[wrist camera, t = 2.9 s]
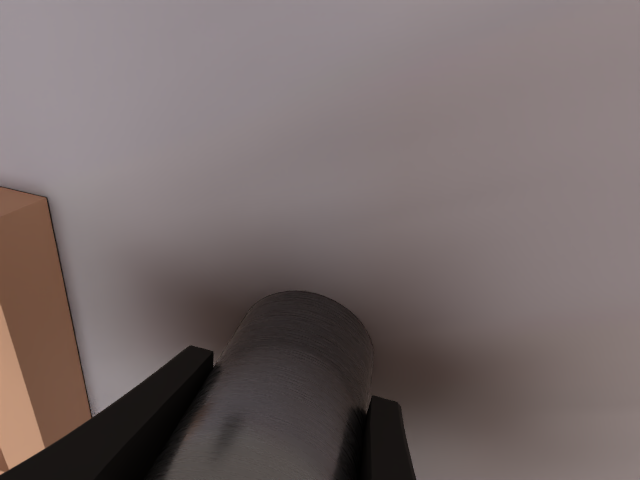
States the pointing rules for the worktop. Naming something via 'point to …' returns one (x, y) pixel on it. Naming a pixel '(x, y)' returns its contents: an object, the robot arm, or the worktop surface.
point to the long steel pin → (279, 398)
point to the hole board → (34, 335)
